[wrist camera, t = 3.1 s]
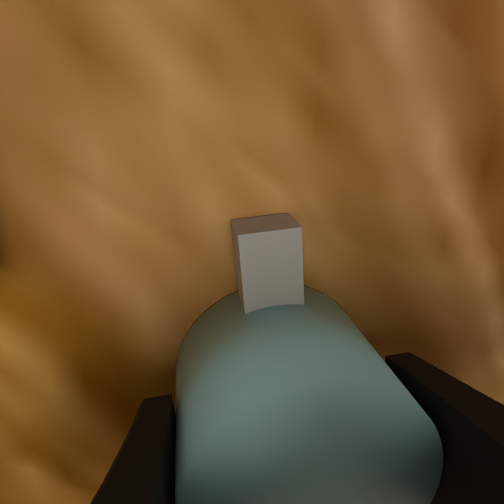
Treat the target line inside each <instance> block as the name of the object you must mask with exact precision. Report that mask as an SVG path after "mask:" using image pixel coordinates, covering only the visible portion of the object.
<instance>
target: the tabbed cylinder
mask: <svg viewBox="0 0 504 504" xmlns="http://www.w3.org/2000/svg"><path fill="white" fill-rule="evenodd" d="M231 227H232V237H233V248H234V258H235V268H236V278H237V289H238V291H237V292H235V293H232V294H230V295H228V296H226V297H225V298H223V299H221V300H220V301H218V302H216V303H215V304H214V305H212V306H211V307H210V308H209V309H207V310H206V311H205V312H204V313H203V314H202V315H201V316H200V317H199V318H198V319H197V320H196V322H195V323H194V324H193V326H192V327H191V328H190V330H189V331H188V333H187V335H186V336H185V338H184V340H183V342H182V345H181V347H180V350H179V353H178V358H177V363H176V427H175V504H430V503H431V502H432V500H433V498H434V496H435V494H436V491H437V488H438V485H439V483H440V479H441V474H442V469H443V450H442V443H441V440H440V437H439V433H438V431H437V429H436V427H435V425H434V423H433V422H432V420H431V419H430V418H429V416H428V415H427V414H426V413H425V411H424V410H423V409H422V408H421V406H420V405H419V404H418V403H417V401H416V400H415V399H414V398H413V396H412V395H411V394H410V393H409V391H408V390H407V389H406V388H405V386H404V385H403V384H402V383H401V381H400V380H399V379H398V378H397V376H396V375H395V374H394V373H393V371H392V370H391V369H390V368H389V366H388V365H387V364H386V363H385V361H384V360H383V359H382V358H381V356H380V355H379V354H378V353H377V352H376V350H375V349H374V348H373V347H372V345H371V344H370V343H369V342H368V340H367V339H366V338H365V337H364V335H363V334H362V333H361V332H360V330H359V329H358V328H357V327H356V325H355V324H354V323H353V322H352V320H351V319H350V318H349V317H348V315H347V314H346V313H345V312H344V310H343V309H342V308H341V307H340V306H339V305H338V304H337V303H336V302H335V301H334V300H333V299H331V298H330V297H328V296H327V295H325V294H324V293H321V292H319V291H317V290H315V289H313V288H309V287H306V286H304V279H303V246H302V227H301V226H300V225H299V224H298V223H297V222H296V221H295V220H294V219H293V218H292V217H291V216H290V215H289V214H288V213H283V214H275V215H267V216H258V217H250V218H242V219H234V220H231Z"/></svg>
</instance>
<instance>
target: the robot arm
mask: <svg viewBox="0 0 504 504" xmlns="http://www.w3.org/2000/svg"><path fill="white" fill-rule="evenodd" d="M385 363H386V364H387V365H388V366H389V368H390V369H391V370H392V371H393V373H394V374H395V375H396V376H397V378H398V379H399V380H400V381H401V383H402V384H403V385H404V386H405V388H406V389H407V390H408V391H409V393H410V394H411V395H412V396H413V398H414V399H415V400H416V401H417V403H418V404H419V405H420V406H421V408H422V409H423V410H424V411H425V413H426V414H427V415H428V416H429V418H430V419H431V420H432V422H433V423H434V425H435V427H436V429H437V431H438V433H439V437H440V440H441V443H442V450H443V469H442V474H441V479H440V483H439V485H438V488H437V491H436V494H435V496H434V498H433V500H432V502H431V503H430V504H504V405H503V404H501V403H499V402H497V401H495V400H493V399H492V398H490V397H488V396H486V395H484V394H483V393H481V392H479V391H477V390H475V389H474V388H472V387H470V386H468V385H466V384H465V383H463V382H461V381H459V380H458V379H456V378H454V377H452V376H451V375H449V374H447V373H445V372H444V371H442V370H440V369H438V368H437V367H435V366H433V365H431V364H429V363H428V362H426V361H424V360H422V359H420V358H419V357H417V356H415V355H413V354H411V353H409V352H407V353H401V354H396V355H390V356H386V357H385ZM175 427H176V416H175V410H174V405H173V399H172V394H170V395H164V396H159V397H153V398H147V399H144V401H143V402H142V403H141V404H140V407H139V409H138V412H137V414H136V417H135V419H134V421H133V423H132V426H131V428H130V430H129V432H128V434H127V436H126V438H125V440H124V442H123V444H122V446H121V449H120V451H119V452H118V454H117V456H116V458H115V460H114V462H113V464H112V466H111V468H110V469H109V471H108V473H107V475H106V477H105V479H104V481H103V483H102V484H101V486H100V488H99V490H98V491H97V493H96V495H95V497H94V498H93V500H92V502H91V503H90V504H175Z"/></svg>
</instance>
